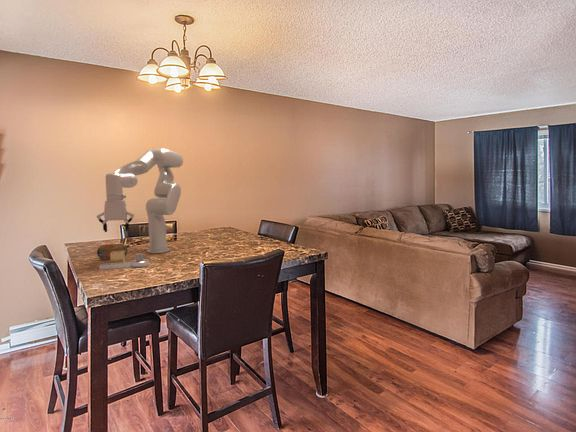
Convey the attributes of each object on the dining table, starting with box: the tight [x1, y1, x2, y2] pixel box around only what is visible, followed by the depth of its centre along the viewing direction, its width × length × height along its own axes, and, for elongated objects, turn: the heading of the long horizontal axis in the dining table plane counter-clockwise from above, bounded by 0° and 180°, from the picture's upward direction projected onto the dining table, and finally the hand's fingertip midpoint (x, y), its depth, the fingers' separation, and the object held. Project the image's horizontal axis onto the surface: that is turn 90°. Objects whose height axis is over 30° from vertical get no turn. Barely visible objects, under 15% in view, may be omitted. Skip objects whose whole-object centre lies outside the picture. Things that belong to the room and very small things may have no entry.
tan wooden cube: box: [110, 251, 126, 263], centre depth 187 cm, size 6×6×6 cm
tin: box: [96, 243, 128, 261], centre depth 197 cm, size 15×3×8 cm, turn 101°
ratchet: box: [98, 252, 150, 271], centre depth 181 cm, size 9×22×6 cm, turn 108°
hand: (116, 231), depth 185 cm, fingers open, 9 cm apart
